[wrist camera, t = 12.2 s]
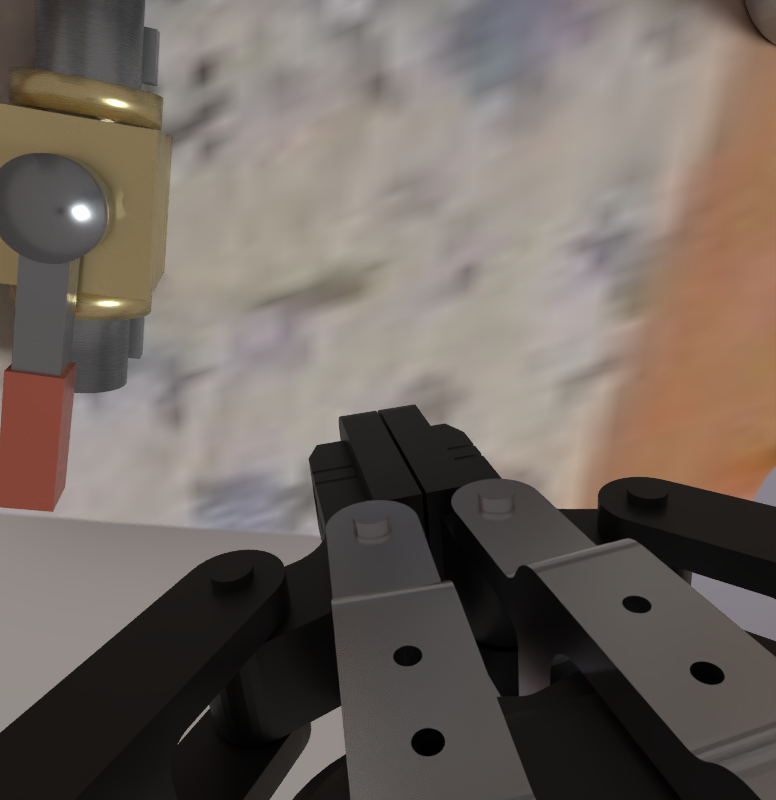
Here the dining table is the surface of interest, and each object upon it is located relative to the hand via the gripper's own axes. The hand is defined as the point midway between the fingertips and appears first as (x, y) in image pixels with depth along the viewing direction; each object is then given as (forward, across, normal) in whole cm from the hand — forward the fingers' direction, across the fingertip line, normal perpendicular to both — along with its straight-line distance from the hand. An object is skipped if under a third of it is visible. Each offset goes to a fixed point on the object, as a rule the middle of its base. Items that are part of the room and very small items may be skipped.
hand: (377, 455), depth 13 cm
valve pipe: (+27, +9, -4) cm, 29 cm away
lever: (+19, +11, +1) cm, 22 cm away
